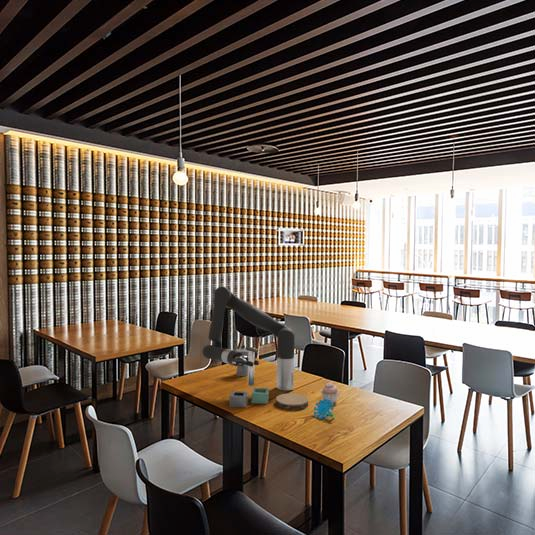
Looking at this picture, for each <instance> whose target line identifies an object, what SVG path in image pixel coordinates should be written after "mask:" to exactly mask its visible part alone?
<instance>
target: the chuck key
mask: <svg viewBox="0 0 535 535" xmlns="http://www.w3.org/2000/svg"><path fill="white" fill-rule="evenodd" d="M245 349H246V350H248V361H251V362H253V367H251V366H248V376H247V386H248V387H249V386H250V387H252V386H253V387H254V385H255V366H256V365H255V360H256V359H255V352H257V353H258V351H259V350H258V348H255V347H250V346H245Z"/></svg>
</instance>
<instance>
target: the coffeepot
mask: <svg viewBox="0 0 535 535" xmlns="http://www.w3.org/2000/svg"><path fill="white" fill-rule="evenodd" d="M245 348H246V345H244V344H243V345H242V348H236V349H235V348H234V350H235V351H239V352H241V353H242V355H244V356H247V357H248V350H246V349H245ZM257 356H258V352H255V358H256V359H257ZM236 367H237V368H236V371H235V372H236V373H235V375H236V376H237V377H240V376H243V377H242V378H245V376H247V377H248V366H245V365H244V366H236Z"/></svg>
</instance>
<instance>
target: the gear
mask: <svg viewBox="0 0 535 535" xmlns="http://www.w3.org/2000/svg"><path fill="white" fill-rule="evenodd" d="M326 401H327V399H325V398H324V401H323V399H319V402H316V403H315V406H314V407H313V410H314V411H313V415H314V416H315V417H316V418H317V419H320V420H323V419H324V418H325V419H327V418H329V417H330V418H332V419H336V418H335V416H334V415H335V413H334V412H333V411H334V409H335V408H334V403H332V402H331V401H330V399H329V400H328V401H327V402H326ZM330 402H331V403H330ZM329 403H330V404H329ZM330 410H331V411H330Z"/></svg>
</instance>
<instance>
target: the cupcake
mask: <svg viewBox="0 0 535 535" xmlns="http://www.w3.org/2000/svg"><path fill="white" fill-rule="evenodd" d="M320 393H321V395H322V401H324V398H325V399H327V401H328V400H329V399H330V401H331V402H332V403H333V404H335V403H337V401H338V397H339V395H340V392H339V391H338V388H337V386H336V385H335V384H333V382H331V381H330V382H328V383H326V384H324V387H323V388H322V390H320ZM327 401H326V402H327ZM331 402H330V403H331ZM330 403H328V404H330Z"/></svg>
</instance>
